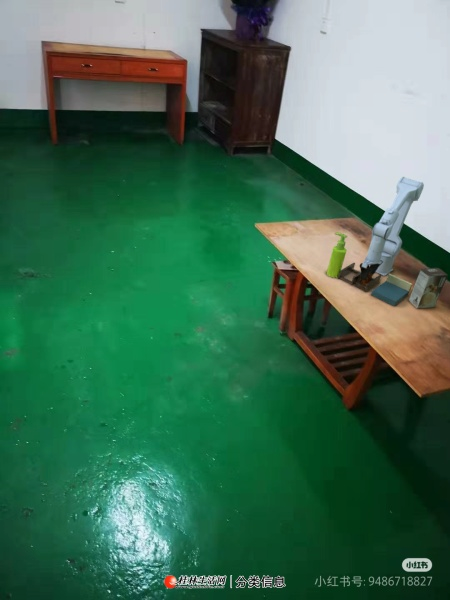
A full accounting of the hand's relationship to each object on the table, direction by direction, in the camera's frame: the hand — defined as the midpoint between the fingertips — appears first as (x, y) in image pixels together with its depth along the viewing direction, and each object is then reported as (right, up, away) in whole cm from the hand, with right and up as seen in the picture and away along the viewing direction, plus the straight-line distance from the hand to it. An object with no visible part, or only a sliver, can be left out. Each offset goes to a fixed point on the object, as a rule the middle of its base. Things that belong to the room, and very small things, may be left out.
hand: (367, 276), depth 204 cm
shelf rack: (-3, -1, +4) cm, 5 cm away
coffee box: (+21, -12, -8) cm, 25 cm away
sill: (+8, -8, -4) cm, 13 cm away
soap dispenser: (-14, +2, +7) cm, 16 cm away
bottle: (0, -3, +2) cm, 4 cm away
